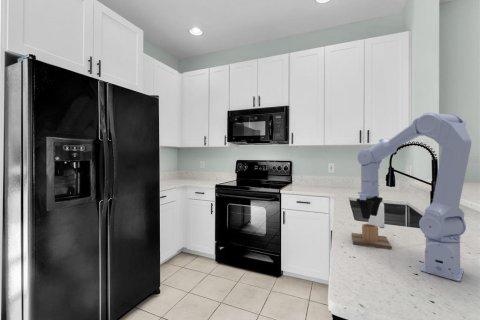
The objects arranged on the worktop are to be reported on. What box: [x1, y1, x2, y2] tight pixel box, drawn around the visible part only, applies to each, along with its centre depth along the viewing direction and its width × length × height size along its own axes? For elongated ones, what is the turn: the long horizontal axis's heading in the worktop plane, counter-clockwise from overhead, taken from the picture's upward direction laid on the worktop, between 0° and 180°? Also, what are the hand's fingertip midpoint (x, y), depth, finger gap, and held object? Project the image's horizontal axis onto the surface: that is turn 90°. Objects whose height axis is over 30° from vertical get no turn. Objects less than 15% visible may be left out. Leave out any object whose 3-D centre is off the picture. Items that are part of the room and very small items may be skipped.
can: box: [367, 200, 385, 228], centre depth 109 cm, size 6×6×12 cm
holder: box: [351, 232, 393, 250], centre depth 87 cm, size 12×12×5 cm
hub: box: [361, 223, 379, 242], centre depth 87 cm, size 5×5×5 cm
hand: (369, 217), depth 87 cm, fingers open, 7 cm apart
